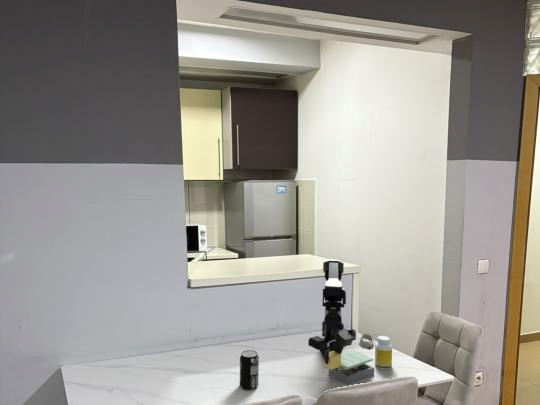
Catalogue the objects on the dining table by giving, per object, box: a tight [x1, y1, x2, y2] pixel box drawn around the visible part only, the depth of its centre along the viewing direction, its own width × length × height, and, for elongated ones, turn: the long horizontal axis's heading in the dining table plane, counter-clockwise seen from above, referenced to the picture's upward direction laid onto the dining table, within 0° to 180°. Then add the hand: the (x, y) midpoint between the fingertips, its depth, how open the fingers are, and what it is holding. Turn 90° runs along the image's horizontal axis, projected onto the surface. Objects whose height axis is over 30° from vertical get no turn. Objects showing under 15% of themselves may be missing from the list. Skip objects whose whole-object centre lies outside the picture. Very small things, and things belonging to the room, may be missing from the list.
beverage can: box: [239, 349, 260, 391], centre depth 146 cm, size 7×7×12 cm
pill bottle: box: [374, 335, 393, 370], centre depth 164 cm, size 6×6×12 cm
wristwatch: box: [359, 332, 375, 349], centre depth 187 cm, size 9×6×5 cm
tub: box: [328, 363, 375, 385], centre depth 157 cm, size 10×14×3 cm
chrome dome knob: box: [338, 367, 346, 373], centre depth 157 cm, size 3×3×2 cm
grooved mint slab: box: [322, 349, 374, 370], centre depth 154 cm, size 10×19×4 cm, turn 126°
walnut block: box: [343, 370, 354, 375], centre depth 153 cm, size 3×3×2 cm
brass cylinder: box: [351, 366, 359, 371], centre depth 161 cm, size 3×3×2 cm
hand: (332, 362), depth 150 cm, fingers closed on grooved mint slab, 5 cm apart
